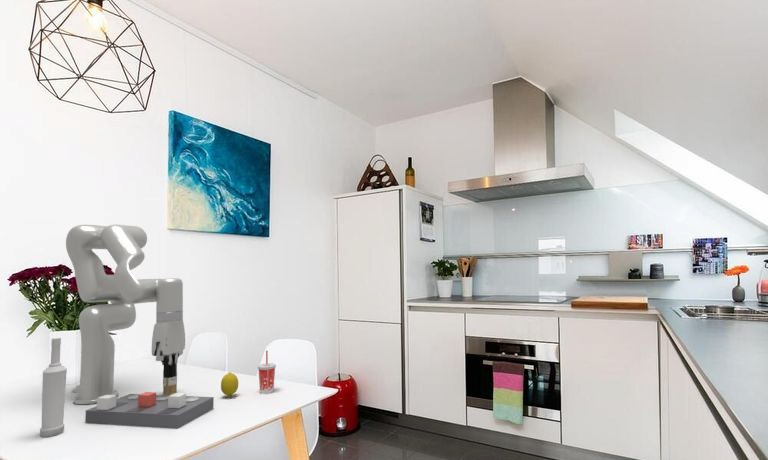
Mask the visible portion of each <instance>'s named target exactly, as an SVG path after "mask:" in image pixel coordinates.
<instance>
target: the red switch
mask: <svg viewBox="0 0 768 460" xmlns="http://www.w3.org/2000/svg"><path fill="white" fill-rule="evenodd" d="M139 394H140V395H138V406H140V407H149V406H152V405H154V404H156V395H157V391H153V392H151V391H145V392H143V393H139Z"/></svg>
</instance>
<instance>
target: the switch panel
mask: <svg viewBox="0 0 768 460" xmlns="http://www.w3.org/2000/svg"><path fill="white" fill-rule="evenodd" d="M140 394H141V393H128V394H125V395H123V396H121V397H118V398H116V407H114V408H111V409H109V410H97V405H96V406H94V407H91V408H89V409H86V410H85V421H84V423H85V424H92V425H93V424H96V425H113V426H130V427H144V428H145V427H147V428H160V429H161V428H162V429H180V428H182V427H183V426H185V425H187V424H189V423H191V422H192V421H194V420H196V419H198V418H200V417H201V416H203V415H205V414H207V413H208V412H210V411H212V410H214V406H215V405H214V402H215V401H214V396H194V395H186V405H185V406H183V407H181V408H168V396H170V395H163V394H156V404H154V405H152V406H149V407H140V406H138V395H140Z"/></svg>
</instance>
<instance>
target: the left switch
mask: <svg viewBox="0 0 768 460" xmlns="http://www.w3.org/2000/svg"><path fill="white" fill-rule="evenodd" d="M116 399H117V397H116V395H104V396H102V397H99V398H97V403H96V406H97V410H109V409H111V408H114V407H116Z"/></svg>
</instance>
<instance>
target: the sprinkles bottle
mask: <svg viewBox="0 0 768 460" xmlns="http://www.w3.org/2000/svg"><path fill="white" fill-rule="evenodd" d="M167 358H168V357H167ZM162 373H163V374H162V377H163V378H162V395H172V394H175V393H178V391H177V388H178V387H177V385H178V362H177V363H176V376H175V377H172V378H164V369H163V370H162Z"/></svg>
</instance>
